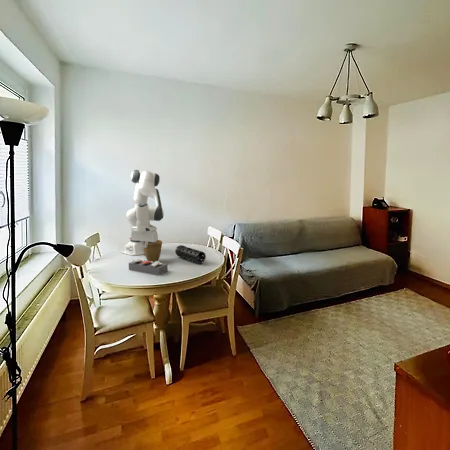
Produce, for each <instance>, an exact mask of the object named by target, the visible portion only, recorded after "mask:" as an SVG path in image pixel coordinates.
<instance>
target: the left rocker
mask: <svg viewBox="0 0 450 450" xmlns="http://www.w3.org/2000/svg"><path fill="white" fill-rule="evenodd" d="M142 260H143V259H139V260H138V259H133V260H132V262H133V261H134V262H138V263H140V262H142Z"/></svg>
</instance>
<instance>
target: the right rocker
mask: <svg viewBox="0 0 450 450" xmlns="http://www.w3.org/2000/svg"><path fill="white" fill-rule="evenodd" d="M160 263H161V261H159V260H158V261H156V262H154V263H153V264H152V265H151V266H153V267H156V266H158V264H160Z"/></svg>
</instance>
